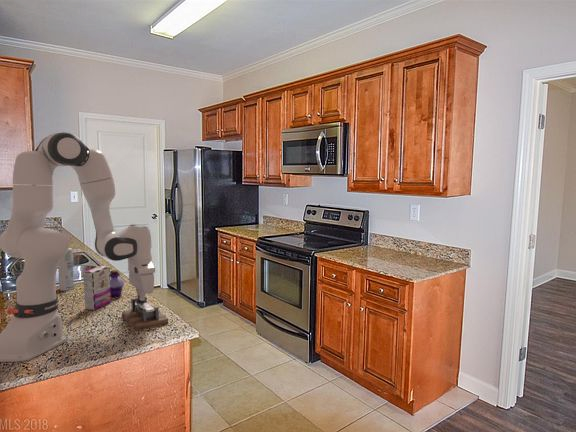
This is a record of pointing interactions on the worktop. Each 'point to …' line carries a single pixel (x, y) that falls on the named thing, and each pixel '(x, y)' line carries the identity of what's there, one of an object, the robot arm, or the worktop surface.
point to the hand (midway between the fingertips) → (141, 299)
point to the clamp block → (144, 311)
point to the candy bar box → (97, 287)
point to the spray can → (66, 271)
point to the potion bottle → (116, 284)
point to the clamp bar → (144, 305)
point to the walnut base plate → (137, 320)
